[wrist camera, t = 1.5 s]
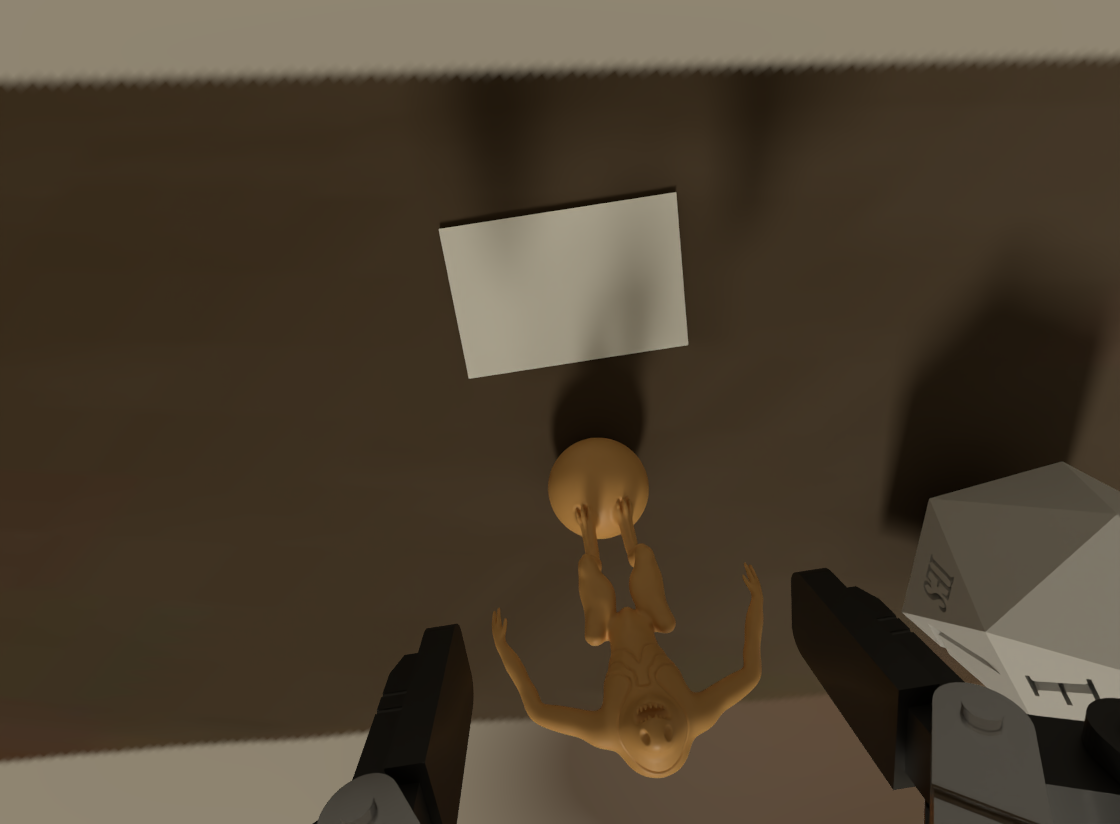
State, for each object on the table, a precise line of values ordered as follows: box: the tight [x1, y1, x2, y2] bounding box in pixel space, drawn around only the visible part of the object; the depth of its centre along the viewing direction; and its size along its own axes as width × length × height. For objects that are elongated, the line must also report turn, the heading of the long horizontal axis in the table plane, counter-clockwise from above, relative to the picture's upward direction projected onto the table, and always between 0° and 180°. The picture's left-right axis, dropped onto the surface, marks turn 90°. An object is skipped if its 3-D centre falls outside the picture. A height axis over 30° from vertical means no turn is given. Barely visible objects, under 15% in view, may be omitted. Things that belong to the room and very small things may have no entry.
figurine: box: [492, 438, 763, 778], centre depth 17 cm, size 8×6×12 cm
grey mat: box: [439, 192, 688, 379], centre depth 20 cm, size 9×6×1 cm, turn 98°
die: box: [902, 462, 1120, 721], centre depth 19 cm, size 8×9×10 cm
